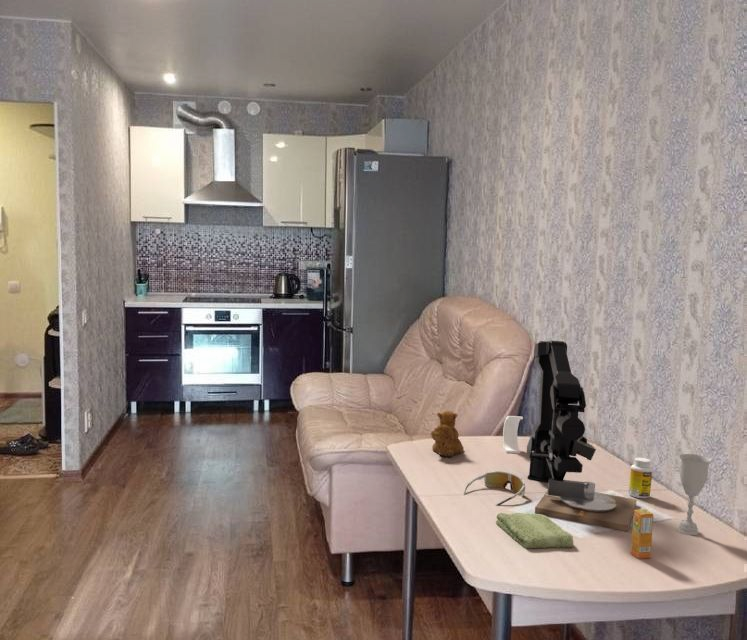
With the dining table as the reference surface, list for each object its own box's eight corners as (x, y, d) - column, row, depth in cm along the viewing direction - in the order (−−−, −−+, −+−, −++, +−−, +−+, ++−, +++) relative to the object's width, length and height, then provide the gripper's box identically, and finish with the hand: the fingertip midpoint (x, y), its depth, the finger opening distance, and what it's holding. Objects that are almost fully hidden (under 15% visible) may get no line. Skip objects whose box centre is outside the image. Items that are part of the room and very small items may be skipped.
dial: (612, 497, 197) (613, 478, 197) (619, 515, 183) (621, 495, 183) (546, 489, 200) (547, 471, 200) (548, 506, 186) (550, 487, 186)
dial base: (534, 513, 186) (535, 506, 186) (552, 489, 206) (552, 483, 206) (627, 531, 177) (628, 524, 177) (636, 505, 197) (636, 498, 197)
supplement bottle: (641, 500, 202) (644, 463, 201) (624, 494, 206) (627, 457, 205) (654, 497, 205) (657, 461, 204) (637, 491, 209) (640, 455, 208)
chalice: (689, 538, 175) (696, 463, 174) (665, 527, 181) (673, 455, 180) (710, 534, 179) (718, 460, 177) (686, 524, 185) (694, 453, 183)
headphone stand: (506, 452, 242) (508, 416, 241) (501, 447, 248) (504, 412, 247) (520, 453, 242) (523, 417, 241) (515, 448, 248) (518, 412, 247)
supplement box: (628, 552, 164) (632, 508, 163) (643, 552, 165) (647, 508, 164) (636, 559, 161) (641, 514, 160) (651, 558, 162) (655, 513, 161)
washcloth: (542, 521, 182) (543, 508, 182) (577, 550, 165) (578, 536, 165) (491, 522, 179) (492, 509, 179) (521, 552, 162) (523, 538, 162)
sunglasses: (533, 496, 200) (533, 478, 199) (502, 516, 189) (502, 498, 188) (488, 482, 209) (488, 466, 208) (456, 501, 199) (456, 483, 198)
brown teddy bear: (464, 449, 243) (467, 409, 242) (458, 461, 229) (462, 418, 228) (433, 446, 245) (436, 406, 244) (426, 457, 231) (429, 415, 230)
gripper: (605, 441, 184) (599, 502, 186) (583, 421, 203) (578, 477, 205) (560, 439, 184) (555, 500, 186) (542, 419, 202) (537, 475, 204)
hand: (557, 487), depth 195 cm, fingers closed
